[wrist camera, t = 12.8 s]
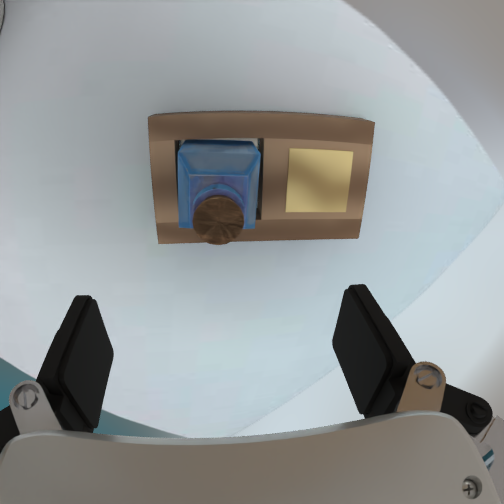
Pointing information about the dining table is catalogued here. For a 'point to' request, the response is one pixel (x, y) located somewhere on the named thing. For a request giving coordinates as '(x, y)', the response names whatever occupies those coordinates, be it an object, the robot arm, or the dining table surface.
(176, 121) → the frame
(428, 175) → the dining table surface
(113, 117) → the dining table surface
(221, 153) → the perfume bottle
